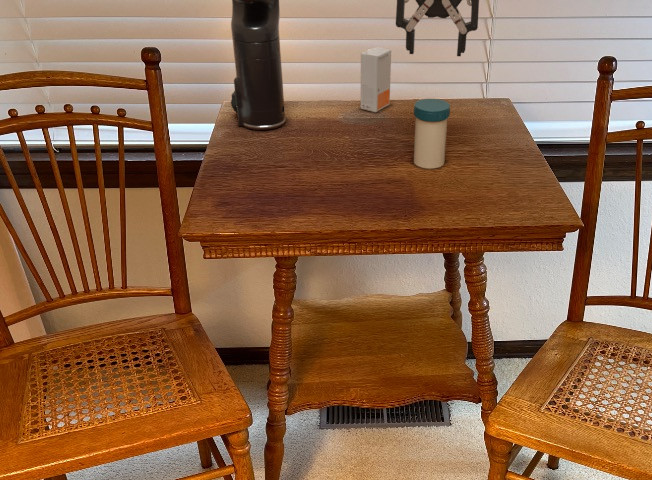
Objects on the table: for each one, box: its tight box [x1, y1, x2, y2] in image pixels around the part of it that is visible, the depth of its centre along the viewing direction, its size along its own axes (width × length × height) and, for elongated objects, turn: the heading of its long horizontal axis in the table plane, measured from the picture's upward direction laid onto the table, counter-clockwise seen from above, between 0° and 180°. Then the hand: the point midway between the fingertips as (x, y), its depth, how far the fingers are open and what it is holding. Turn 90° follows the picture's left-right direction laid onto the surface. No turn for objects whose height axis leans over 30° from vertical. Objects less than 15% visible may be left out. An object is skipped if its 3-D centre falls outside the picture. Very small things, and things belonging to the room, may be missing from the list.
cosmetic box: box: [360, 46, 392, 113], centre depth 163 cm, size 6×4×12 cm
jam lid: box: [413, 98, 451, 122], centre depth 139 cm, size 7×7×2 cm
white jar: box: [413, 116, 449, 170], centre depth 142 cm, size 6×6×11 cm
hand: (435, 54), depth 132 cm, fingers open, 8 cm apart
